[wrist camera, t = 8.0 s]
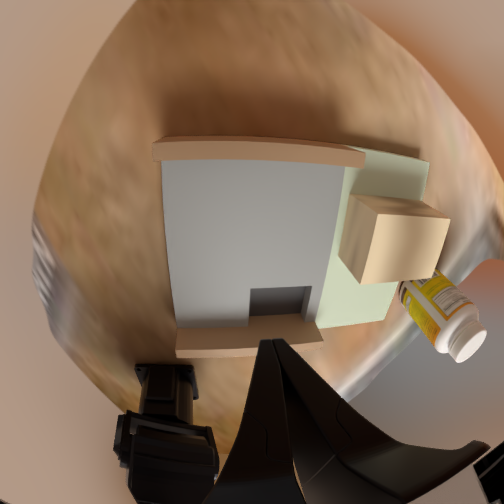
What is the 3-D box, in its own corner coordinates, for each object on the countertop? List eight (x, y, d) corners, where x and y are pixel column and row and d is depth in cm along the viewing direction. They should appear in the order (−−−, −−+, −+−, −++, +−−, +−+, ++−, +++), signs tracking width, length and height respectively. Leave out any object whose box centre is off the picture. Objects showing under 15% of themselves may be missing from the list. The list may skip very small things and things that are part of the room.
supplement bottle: (413, 309, 28) (460, 371, 19) (388, 297, 26) (440, 368, 17) (442, 272, 26) (497, 328, 17) (419, 254, 24) (484, 317, 15)
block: (419, 200, 19) (450, 219, 16) (405, 253, 22) (431, 277, 18) (349, 193, 18) (377, 213, 15) (337, 255, 21) (359, 284, 17)
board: (179, 324, 24) (176, 357, 20) (165, 136, 16) (152, 143, 13) (377, 311, 27) (395, 336, 23) (419, 158, 19) (450, 170, 16)
